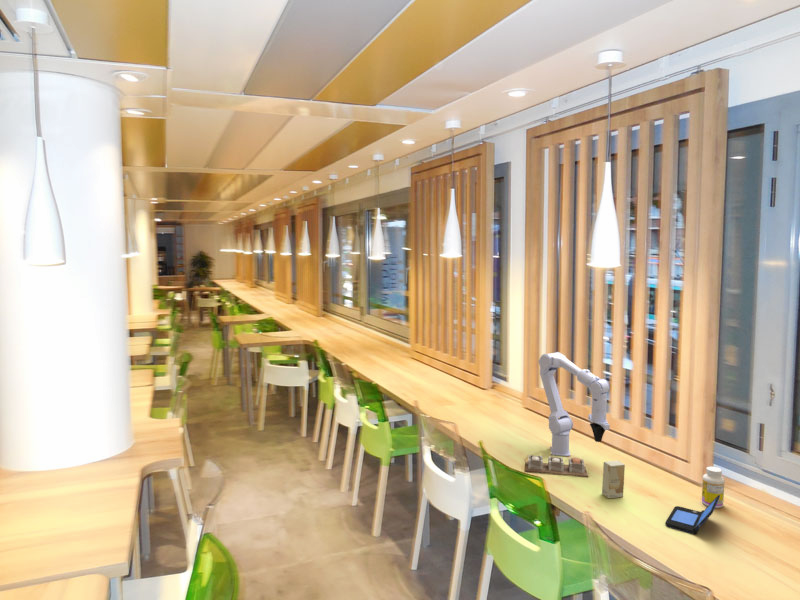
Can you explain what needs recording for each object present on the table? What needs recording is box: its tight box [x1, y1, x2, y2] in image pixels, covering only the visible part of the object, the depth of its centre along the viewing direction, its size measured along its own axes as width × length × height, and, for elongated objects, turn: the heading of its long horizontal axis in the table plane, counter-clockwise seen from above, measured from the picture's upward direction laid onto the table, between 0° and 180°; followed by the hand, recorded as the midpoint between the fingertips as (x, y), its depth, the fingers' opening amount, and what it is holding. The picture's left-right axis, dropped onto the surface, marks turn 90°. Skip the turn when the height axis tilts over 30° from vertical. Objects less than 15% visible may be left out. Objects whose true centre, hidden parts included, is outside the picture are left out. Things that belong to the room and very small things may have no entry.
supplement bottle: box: [701, 466, 725, 509], centre depth 195 cm, size 7×7×13 cm
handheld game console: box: [664, 495, 720, 536], centre depth 182 cm, size 16×13×9 cm
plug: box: [532, 455, 539, 460], centre depth 228 cm, size 3×3×3 cm
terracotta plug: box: [572, 457, 581, 463], centre depth 224 cm, size 3×3×3 cm
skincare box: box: [601, 460, 626, 499], centre depth 202 cm, size 6×4×12 cm
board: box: [524, 454, 589, 478], centre depth 226 cm, size 10×24×4 cm, turn 78°
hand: (597, 441), depth 229 cm, fingers closed
